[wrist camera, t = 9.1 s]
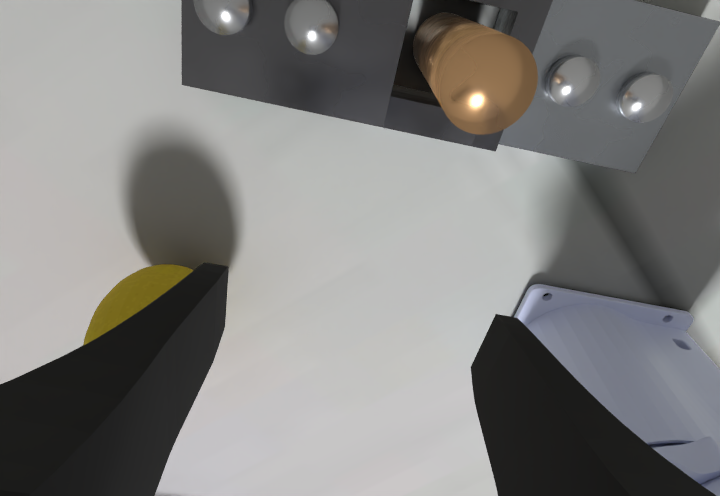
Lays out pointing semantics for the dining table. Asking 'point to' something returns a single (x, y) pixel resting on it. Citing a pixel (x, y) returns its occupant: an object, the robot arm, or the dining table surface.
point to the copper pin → (475, 72)
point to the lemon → (133, 296)
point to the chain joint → (421, 109)
